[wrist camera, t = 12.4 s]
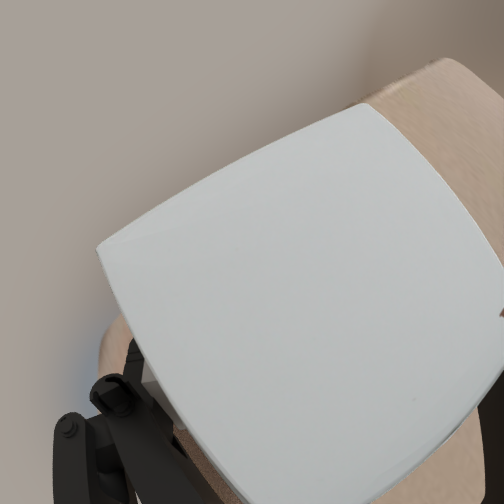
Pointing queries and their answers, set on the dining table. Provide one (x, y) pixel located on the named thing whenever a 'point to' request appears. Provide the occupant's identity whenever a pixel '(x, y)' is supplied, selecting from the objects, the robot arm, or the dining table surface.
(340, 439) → the supplement box
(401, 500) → the dining table surface
